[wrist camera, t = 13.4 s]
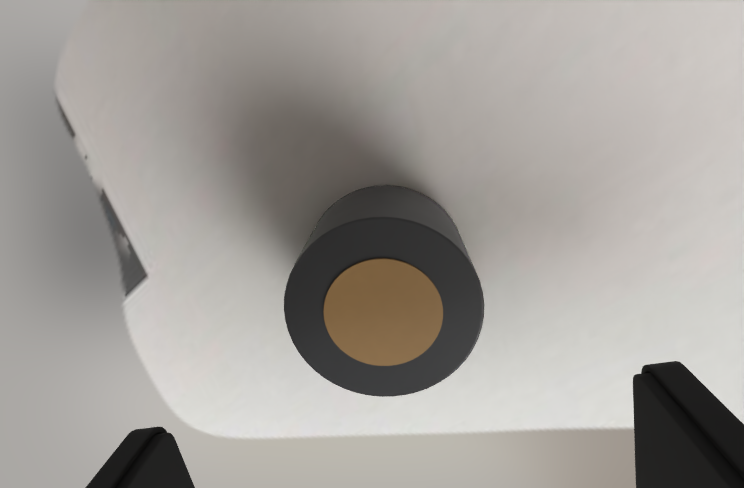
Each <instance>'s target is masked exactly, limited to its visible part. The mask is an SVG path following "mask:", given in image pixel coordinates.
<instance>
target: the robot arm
mask: <svg viewBox="0 0 744 488" xmlns="http://www.w3.org/2000/svg"><path fill="white" fill-rule="evenodd" d="M633 399H634V433H635V467H636V488H744V424H743V423H742V422H741V421H740V420H739V419H737V418H736V417H735V416H734V415H733V414H732V413H731V412H730V411H729V410H728V409H727V408H726V407H725V406H724V405H723V404H722V403H721V402H720V401H719V400H718V399H717V398H716V397H715V396H714V395H713V394H712V393H711V392H710V391H709V390H708V389H707V388H706V387H705V386H704V385H703V384H702V383H701V382H700V381H699V380H698V379H697V378H696V377H695V376H694V375H693V374H692V373H691V372H690V371H689V370H688V369H687V368H686V367H685V366H684V365H683V364H681V363H680V362H677V361H674V362H666V363H658V364H650V365H645V366H643V368H642V373H641V374H636V375H634V377H633ZM86 488H195V487H194V485H193V482H192V480H191V478H190V475H189V473H188V470H187V468H186V465H185V463H184V461H183V458H182V456H181V453H180V451H179V448H178V446H177V443H176V441H175V439H174V437H173V435H172V434H171V433H167V431H166V430H165V429H164V428H163V427H153V428H146V429H137V430H134V431H132V432H130V433H129V434H128V436H127V437H126V438H125V439H124V440H123V442H122V443H121V444H120V445H119V447H118V448H117V449H116V450H115V452H114V453H113V454H112V455H111V457H110V458H109V459H108V460H107V462H106V463H105V464H104V465H103V467H102V468H101V469H100V470H99V472H98V473H97V474H96V475H95V477H94V478H93V479H92V480H91V482H90V483H89V484H88V486H87V487H86Z"/></svg>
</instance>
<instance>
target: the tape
mask: <svg viewBox="0 0 744 488" xmlns="http://www.w3.org/2000/svg"><path fill="white" fill-rule="evenodd" d="M284 312H285V320H286V324H287V328H288V331H289V334H290V336H291V339H292V341H293V343H294V345H295V347H296V348H297V350H298V352H299V353H300V355H301V356H302V357H303V358H304V360H305V361H306V362H307V363H308V364H309V365H310V366H311V367H312V368H313V369H314V370H315V371H316V372H317V373H319V374H320V375H321V376H323V377H324V378H325V379H327V380H329V381H330V382H332V383H334V384H336V385H338V386H340V387H342V388H344V389H347V390H350V391H353V392H356V393H361V394H365V395H372V396H399V395H406V394H410V393H415V392H418V391H421V390H424V389H427V388H429V387H431V386H433V385H435V384H437V383H439V382H440V381H442V380H444V379H445V378H447V377H448V376H449V375H451V374H452V373H453V372H454V371H455V370H456V369H458V368H459V366H460V365H461V364H462V363H463V362H464V361H465V360H466V358H467V357H468V356H469V354H470V353H471V351H472V350H473V348H474V346H475V344H476V342H477V340H478V337H479V334H480V331H481V328H482V323H483V318H484V299H483V291H482V288H481V284H480V280H479V278H478V276H477V273H476V271H475V269H474V266H473V264H472V262H471V260H470V257H469V255H468V253H467V250H466V248H465V246H464V243H463V241H462V239H461V236H460V234H459V232H458V230H457V227H456V226H455V224H454V222H453V221H452V219H451V218H450V216H449V215H448V214H447V213H446V211H445V210H444V209H443V208H442V207H440V206H439V205H438V204H437V203H436V202H434V201H433V200H432V199H430V198H429V197H427V196H425V195H423V194H421V193H419V192H417V191H414V190H411V189H408V188H404V187H399V186H389V185H385V186H373V187H367V188H364V189H360V190H357V191H355V192H352V193H350V194H348V195H346V196H345V197H343V198H341V199H340V200H338V201H337V202H336V203H335V204H333V205H332V206H331V207H330V208H329V209H328V210H327V211H326V212H325V213H324V215H323V216H322V218H321V219H320V220H319V222H318V224H317V225H316V227H315V229H314V231H313V233H312V234H311V236H310V238H309V240H308V241H307V243H306V245H305V247H304V249H303V250H302V252H301V254H300V256H299V258H298V259H297V261H296V263H295V265H294V267H293V269H292V271H291V273H290V276H289V279H288V282H287V285H286V290H285V296H284Z"/></svg>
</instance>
